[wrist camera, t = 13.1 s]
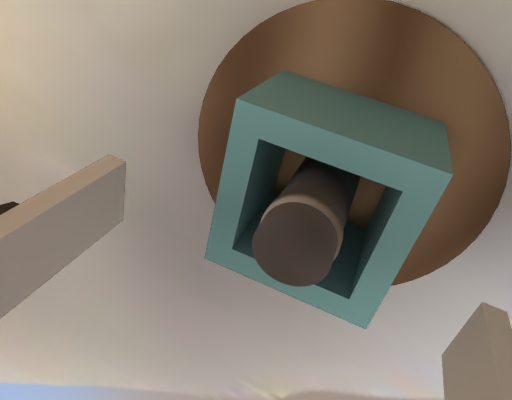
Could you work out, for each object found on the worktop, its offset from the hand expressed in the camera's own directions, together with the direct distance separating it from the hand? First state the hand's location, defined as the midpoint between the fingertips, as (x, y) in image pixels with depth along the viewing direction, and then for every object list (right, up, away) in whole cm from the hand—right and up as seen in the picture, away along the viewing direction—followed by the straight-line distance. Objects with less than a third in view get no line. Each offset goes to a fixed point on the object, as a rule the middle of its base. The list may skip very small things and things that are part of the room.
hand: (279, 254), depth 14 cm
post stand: (+4, +4, +7) cm, 9 cm away
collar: (+3, +4, +7) cm, 8 cm away
